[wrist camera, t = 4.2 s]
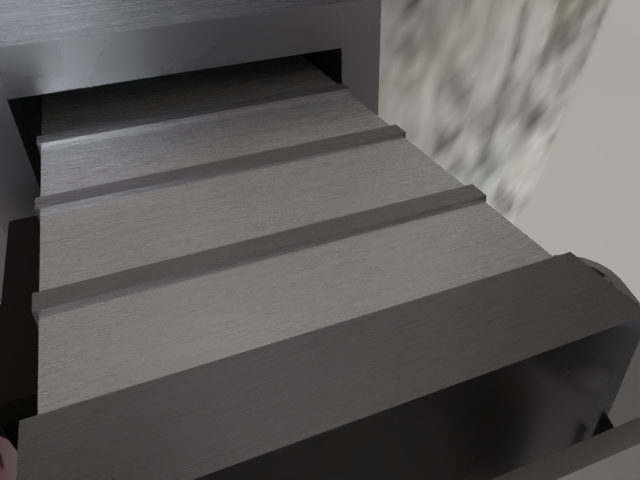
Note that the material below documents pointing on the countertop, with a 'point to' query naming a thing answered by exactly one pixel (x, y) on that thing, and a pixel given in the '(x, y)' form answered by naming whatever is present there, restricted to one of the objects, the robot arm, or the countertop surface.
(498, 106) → the countertop surface
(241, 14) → the stand
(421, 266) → the post
